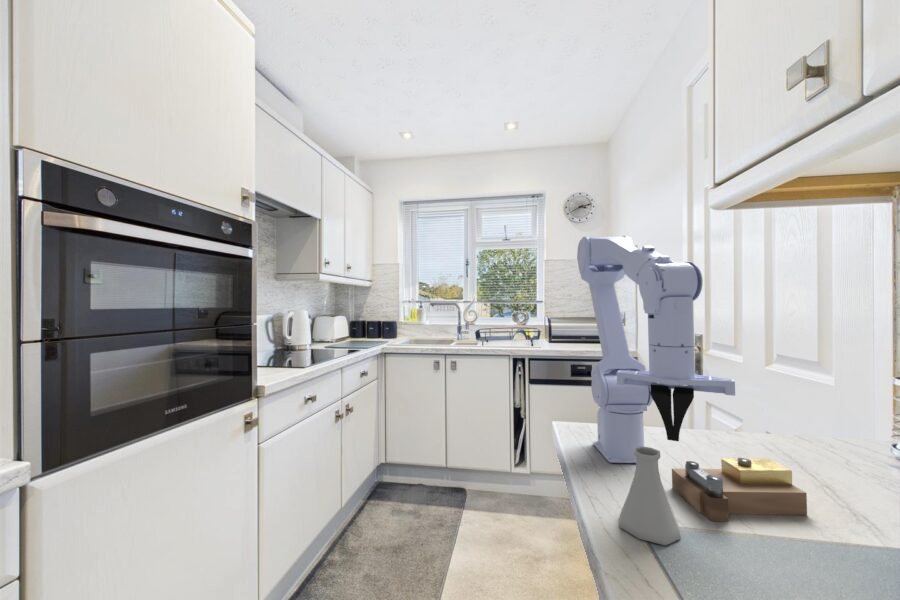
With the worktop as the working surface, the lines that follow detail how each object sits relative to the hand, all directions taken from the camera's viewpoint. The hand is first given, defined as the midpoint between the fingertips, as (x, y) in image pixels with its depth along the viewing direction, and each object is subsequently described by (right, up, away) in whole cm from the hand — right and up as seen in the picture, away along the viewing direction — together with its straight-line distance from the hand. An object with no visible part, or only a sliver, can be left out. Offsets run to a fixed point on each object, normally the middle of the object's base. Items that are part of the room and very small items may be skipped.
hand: (673, 438), depth 53 cm
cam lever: (+4, -6, -1) cm, 7 cm away
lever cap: (+13, -6, +1) cm, 14 cm away
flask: (-7, -10, -6) cm, 13 cm away
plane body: (+9, -9, 0) cm, 13 cm away
